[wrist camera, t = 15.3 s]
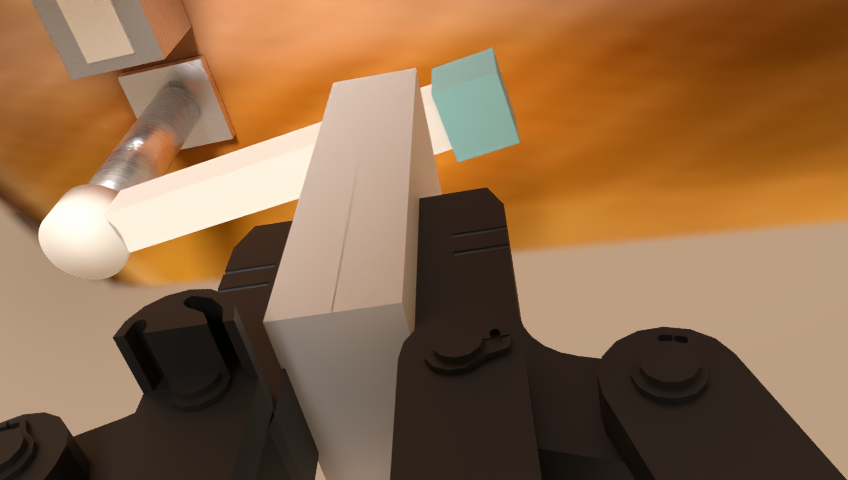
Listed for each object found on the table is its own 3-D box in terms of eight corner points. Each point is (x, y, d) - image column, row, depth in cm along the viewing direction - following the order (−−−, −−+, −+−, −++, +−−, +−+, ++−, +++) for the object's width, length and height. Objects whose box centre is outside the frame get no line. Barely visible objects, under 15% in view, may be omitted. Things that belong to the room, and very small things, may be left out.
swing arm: (91, 259, 42) (69, 292, 40) (43, 195, 40) (17, 226, 38) (517, 121, 37) (522, 150, 35) (490, 39, 35) (493, 63, 32)
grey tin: (65, -46, 47) (19, -19, 42) (153, -68, 46) (118, -43, 41) (108, 45, 51) (71, 81, 45) (192, 26, 50) (163, 60, 45)
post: (121, 73, 52) (24, 178, 40) (203, 54, 51) (130, 156, 39) (157, 149, 55) (78, 269, 43) (235, 133, 54) (177, 250, 42)
